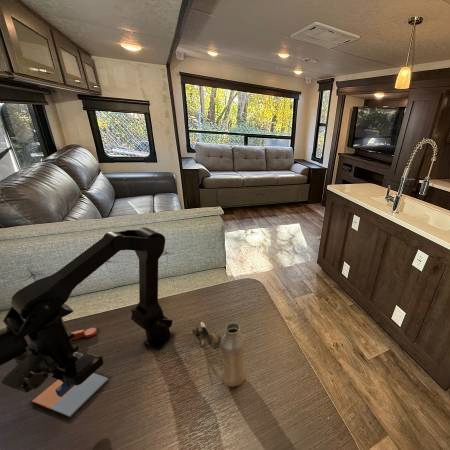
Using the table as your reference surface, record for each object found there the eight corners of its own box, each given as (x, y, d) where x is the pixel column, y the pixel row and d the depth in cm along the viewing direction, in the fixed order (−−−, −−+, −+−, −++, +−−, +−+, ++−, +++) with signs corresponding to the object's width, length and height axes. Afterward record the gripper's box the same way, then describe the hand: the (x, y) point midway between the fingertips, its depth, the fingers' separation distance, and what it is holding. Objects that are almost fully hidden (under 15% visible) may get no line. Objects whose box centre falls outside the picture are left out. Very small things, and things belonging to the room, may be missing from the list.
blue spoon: (64, 398, 59) (61, 392, 58) (54, 394, 60) (51, 388, 59) (97, 368, 67) (95, 362, 66) (88, 365, 67) (86, 359, 66)
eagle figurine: (185, 347, 79) (209, 351, 77) (188, 323, 81) (212, 327, 78) (200, 341, 86) (223, 345, 84) (203, 320, 88) (225, 323, 85)
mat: (108, 379, 69) (108, 378, 69) (69, 417, 60) (69, 416, 60) (74, 367, 71) (74, 366, 71) (32, 402, 62) (31, 400, 62)
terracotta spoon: (63, 344, 77) (61, 339, 76) (65, 337, 80) (63, 332, 79) (96, 335, 81) (94, 330, 81) (97, 328, 84) (95, 323, 83)
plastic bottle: (240, 392, 69) (239, 340, 61) (217, 386, 70) (214, 334, 62) (249, 371, 75) (249, 321, 67) (228, 366, 76) (226, 316, 68)
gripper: (-32, 355, 50) (-2, 404, 56) (39, 382, 46) (63, 431, 52) (35, 317, 60) (54, 361, 66) (97, 337, 56) (111, 382, 62)
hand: (69, 382), depth 61 cm, fingers closed on blue spoon, 1 cm apart
